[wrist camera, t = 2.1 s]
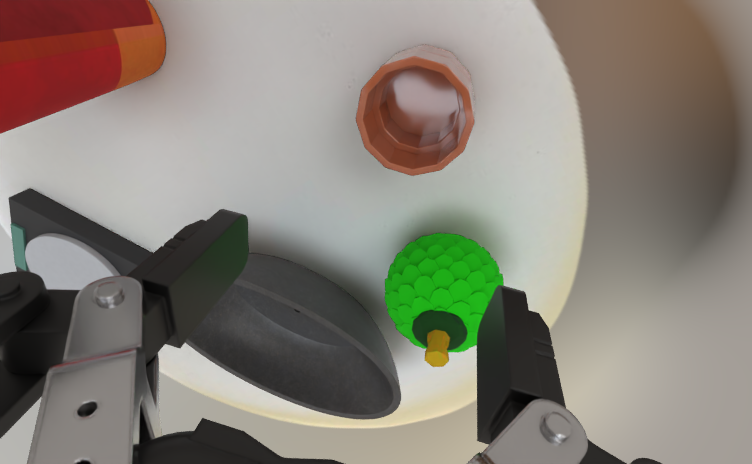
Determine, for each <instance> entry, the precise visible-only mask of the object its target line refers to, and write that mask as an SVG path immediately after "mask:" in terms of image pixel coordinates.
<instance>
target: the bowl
mask: <svg viewBox="0 0 752 464" xmlns="http://www.w3.org/2000/svg"><path fill="white" fill-rule="evenodd" d="M186 343H187V344H188V345H189V346H191V347H192V348H193V349H195V350H196V351H197V352H199V353H200V354H201V355H203V356H204V357H206V358H207V359H209V360H210V361H212V362H213V363H215V364H217V365H218V366H220V367H221V368H223V369H225V370H226V371H228V372H230V373H232V374H233V375H235V376H237V377H239V378H241V379H242V380H244V381H246V382H248V383H250V384H252V385H254V386H256V387H258V388H260V389H262V390H264V391H266V392H269V393H271V394H273V395H275V396H278V397H280V398H282V399H285V400H287V401H290V402H292V403H295V404H298V405H300V406H303V407H306V408H309V409H312V410H315V411H319V412H322V413H326V414H330V415H334V416H339V417H345V418H352V419H376V418H381V417H384V416H387V415H389V414H391V413H393V412H394V411H395V410H396V409H397V408H398V406H399V404H400V401H401V392H400V385H399V380H398V375H397V370H396V367H395V363H394V360H393V358H392V355H391V352H390V350H389V347H388V345H387V343H386V341H385V339H384V337H383V335H382V333H381V332H380V330H379V328H378V327H377V325H376V324H375V322H374V321H373V320H372V318H371V317H370V316H369V314H368V313H367V312H366V310H365V309H364V308H363V307H362V306H361V305H360V304H359V303H358V302H357V301H356V300H355V299H354V298H353V297H352V296H351V295H349V294H348V293H347V292H346V291H344V290H343V289H342V288H340V287H339V286H337V285H336V284H334V283H333V282H331V281H329V280H328V279H326V278H324V277H323V276H321V275H319V274H317V273H315V272H313V271H311V270H309V269H307V268H305V267H303V266H300V265H298V264H295V263H293V262H290V261H287V260H284V259H281V258H277V257H274V256H269V255H263V254H252V253H249V255H248V260H247V263H246V266H245V268H244V270H243V271H242V273H241V274H240V275H239V276H238V278H237V279H236V280H235V281H234V283H233V284H232V285H231V286H230V287H229V289H228V290H227V291H226V292H225V294H224V295H223V296H222V297H221V299H220V300H219V301H218V302H217V303H216V305H215V306H214V307H213V308H212V310H211V311H210V312H209V313H208V315H207V316H206V317H205V318H204V319H203V321H202V322H201V323H200V324H199V326H198V327H197V328H196V329H195V331H194V332H193V333H192V334H191V335H190V337H189V338H188V339H187V340H186Z"/></svg>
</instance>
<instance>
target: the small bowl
mask: <svg viewBox="0 0 752 464" xmlns="http://www.w3.org/2000/svg"><path fill="white" fill-rule="evenodd" d="M474 109H475V99H474V93H473V88H472V82H471V76H470V73H469V71H468V70H467V69H466V68H465V67H464V66H463V65H462V63H461V62H460V61H459V60H458V59H457V58H456V57H455V55H454V54H453V53H451V52H450V51H447V50H443V49H440V48H436V47H432V46H429V45H420V46H417V47H413V48H410V49H407V50H404V51H401V52H398V53H396V54H395V55H394V56H393V57H392V58H391V59H389V60H388V61H387V62H386V63H385V64H384V65H382V66H381V67H380V69H379V70H378V71H377V72H376V73H375V74H374V75H373V77H372V78H371V79H370V80H369V81H368V82H367V83H366V85H365V86H364V87H363V88H362V90H361V94H360V99H359V105H358V110H357V115H356V122H357V125H358V128H359V131H360V134H361V137H362V140H363V144H364V147H365V148H366V149H367V150H368V151H369V152H370V153H371V154H372V155H373V156H374V157H375V158H376V159H377V160H378V161H379V162H380V163H381V164H382V165H383V166H384V167H386V168H388V169H392V170H395V171H398V172H402V173H405V174H408V175H413V176H414V175H419V174H424V173H429V172H434V171H439V170H442V169H443V168H444V167H445V166H447V165H448V164H449V163H450V162H451V161H453V160H454V159H455V158H456V157H457V156H459V155H460V154H461V153H462V152H463V151H464V149H465V146H466V144H467V141H468V138H469V136H470V133H471V130H472V128H473V125H474V116H475V110H474Z"/></svg>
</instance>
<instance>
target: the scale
mask: <svg viewBox="0 0 752 464" xmlns="http://www.w3.org/2000/svg"><path fill="white" fill-rule="evenodd" d="M9 205H10V214H11V233H12V242H13V251H14V260H15V265H16V269H17V272H18V271H25V272H32V273H35V274H37V275H39V276H40V277H41V278H42V279H43V281H44V283H45V286H46V288H47V289H59V290H81V289H83V288H84V287H85V286H87V285H88V284H90V283H92V282H94V281H96V280H99V279H102V278H105V277H110V276H126V275H128V274H129V273H130V272H131V271H133V270H134V269H135V268H136V267H137V266H139V265H140V264H141V263H142V262H143V261H145V260H146V259H147V258H148V257H149V256H151V255H152V254H153V253H151V252H149V251H147V250H145V249H143V248H141V247H139V246H137V245H136V244H134V243H132V242H130V241H128V240H126V239H124V238H122V237H120V236H119V235H117V234H115V233H113V232H111V231H109V230H107V229H105V228H104V227H102V226H100V225H98V224H96V223H94V222H92V221H90V220H88V219H87V218H85V217H83V216H81V215H79V214H77V213H75V212H73V211H71V210H70V209H68V208H66V207H64V206H62V205H60V204H58V203H56V202H54V201H53V200H51V199H49V198H47V197H45V196H43V195H41V194H39V193H38V192H36V191H34V190H32V189H30V188H29V189H27V190H25V191H23V192H20V193H18V194H16V195H14V196H12V197H9Z"/></svg>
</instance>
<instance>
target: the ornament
mask: <svg viewBox="0 0 752 464" xmlns="http://www.w3.org/2000/svg"><path fill="white" fill-rule="evenodd" d="M498 285H502V286H503V276H502V274H499V268H498V266H497V264H496V261H494V259H493V258H492V257H490V254H489V253H488V252H487V251H486V249H485V248H484V247H482V248H481V247H480V246H479V245H478V243H476V242H475V241H473V240H471V239H467V238H465V237H463V236H461V235H456V234H447V233H445V234H442V233H436V234H432V235H429V236H422V237H420V238H419V239H417V240H416V241H415V242H410V243H409V244H408V245H407V246H406V247H405V248H404V250H402V252H400V253H398V254H397V256H396V258H395V260H394V263H392V264H391V266H390V269H389V272H388V278H387V279H385V291H386V292H385V302H386V305H387V307H388V309H387V311H388V314H389V315H390V317H391V319H392V320H393V321H394V323H395V324H396V325H395V326H396V329H397V330H398V331H399V332H400V333H401V334H402V335H403V336H405V337H406V338H408V339H410V341H411V342H412V343H413V344H414V345H416V346H419V347H421V348H426V351H425V361H426V362H428V363H429V364H430V365H431V366H433V367H442V366H444V365H445V364H446V363H447V362H448V361H449V356H448V352H462V351H466V350H467V349H469V348H470V347H473V346H475V345H477V333H478V328H479V324H480V321H481V319H482V317H483V315H484V313H485V310H486V308H487V306H488V304H489V302H490V300H491V298H492V296H493V293H494V291H495V289H496V288H497V286H498Z"/></svg>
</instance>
